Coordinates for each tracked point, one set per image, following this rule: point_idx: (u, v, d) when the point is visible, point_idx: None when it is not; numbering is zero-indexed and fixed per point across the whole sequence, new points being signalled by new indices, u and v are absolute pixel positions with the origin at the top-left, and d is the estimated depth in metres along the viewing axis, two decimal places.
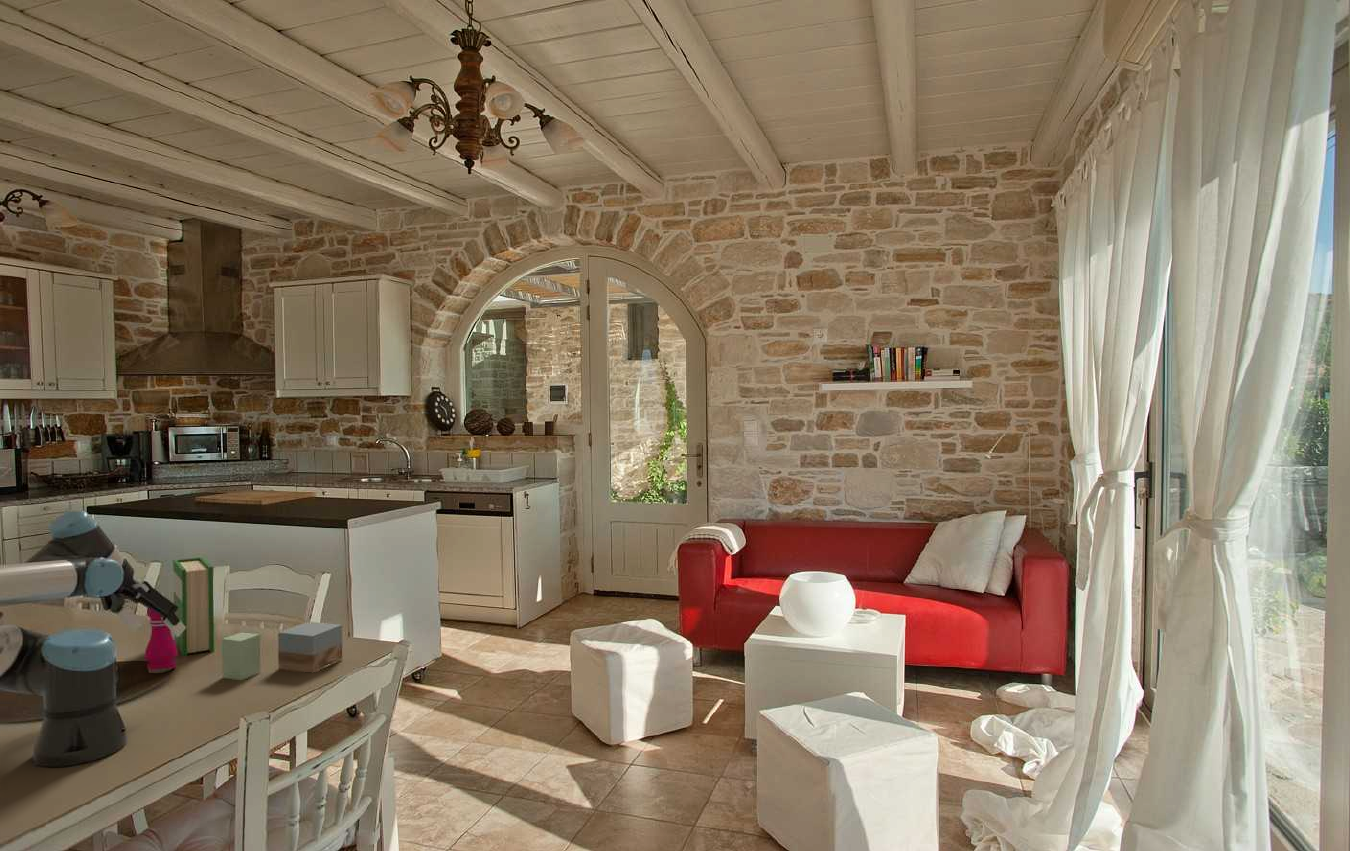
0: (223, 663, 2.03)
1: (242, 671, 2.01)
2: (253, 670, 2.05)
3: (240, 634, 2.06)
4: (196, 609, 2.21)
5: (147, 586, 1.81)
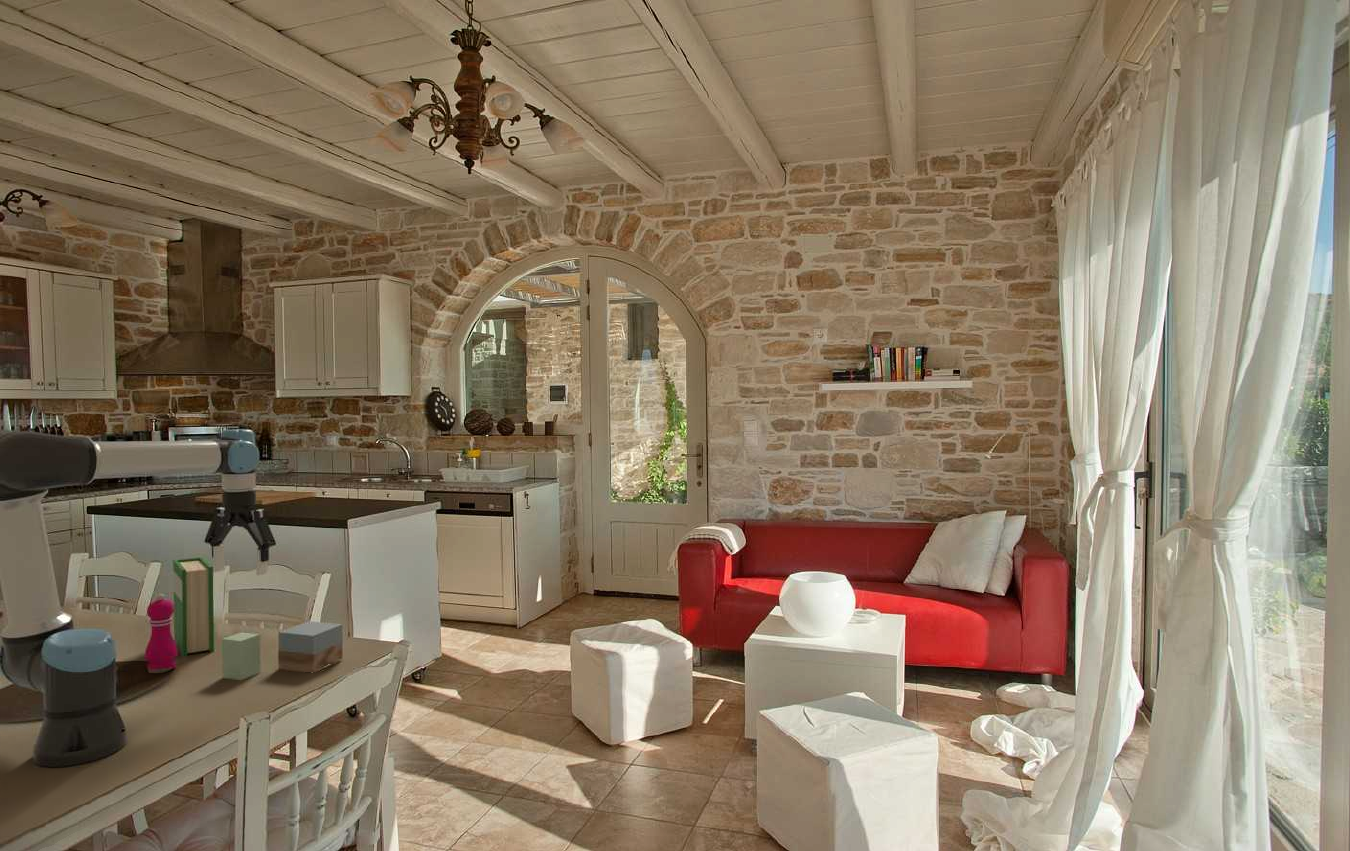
0: (223, 663, 2.03)
1: (242, 671, 2.01)
2: (253, 670, 2.05)
3: (240, 634, 2.06)
4: (196, 609, 2.21)
5: (263, 513, 2.02)
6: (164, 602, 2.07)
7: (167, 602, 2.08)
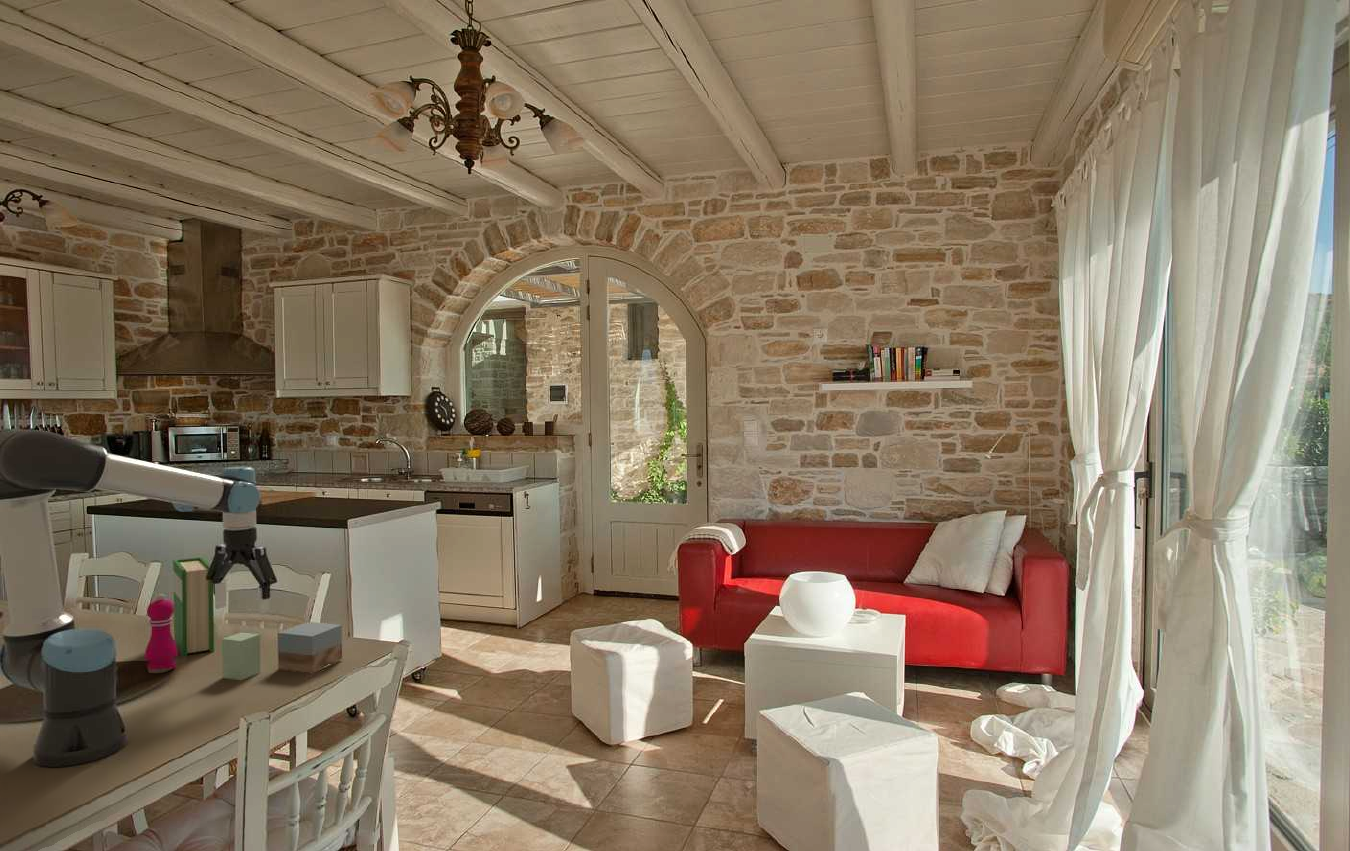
0: (223, 663, 2.03)
1: (242, 671, 2.01)
2: (253, 670, 2.05)
3: (240, 634, 2.06)
4: (196, 609, 2.21)
5: (264, 551, 2.03)
6: (164, 602, 2.07)
7: (167, 602, 2.08)
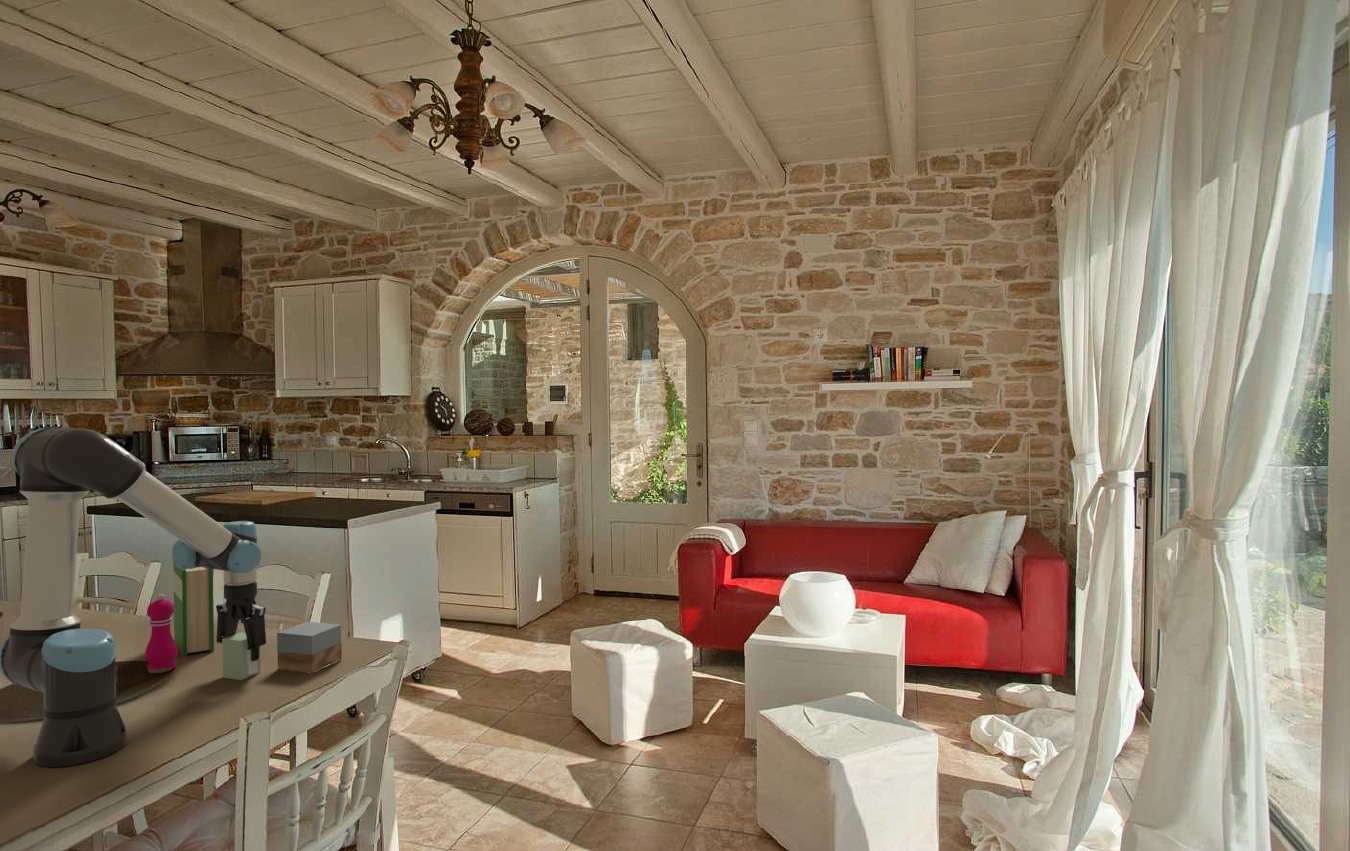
0: (223, 663, 2.03)
1: (242, 671, 2.01)
2: None
3: (240, 634, 2.06)
4: (196, 609, 2.21)
5: (263, 612, 2.03)
6: (164, 602, 2.07)
7: (167, 602, 2.08)
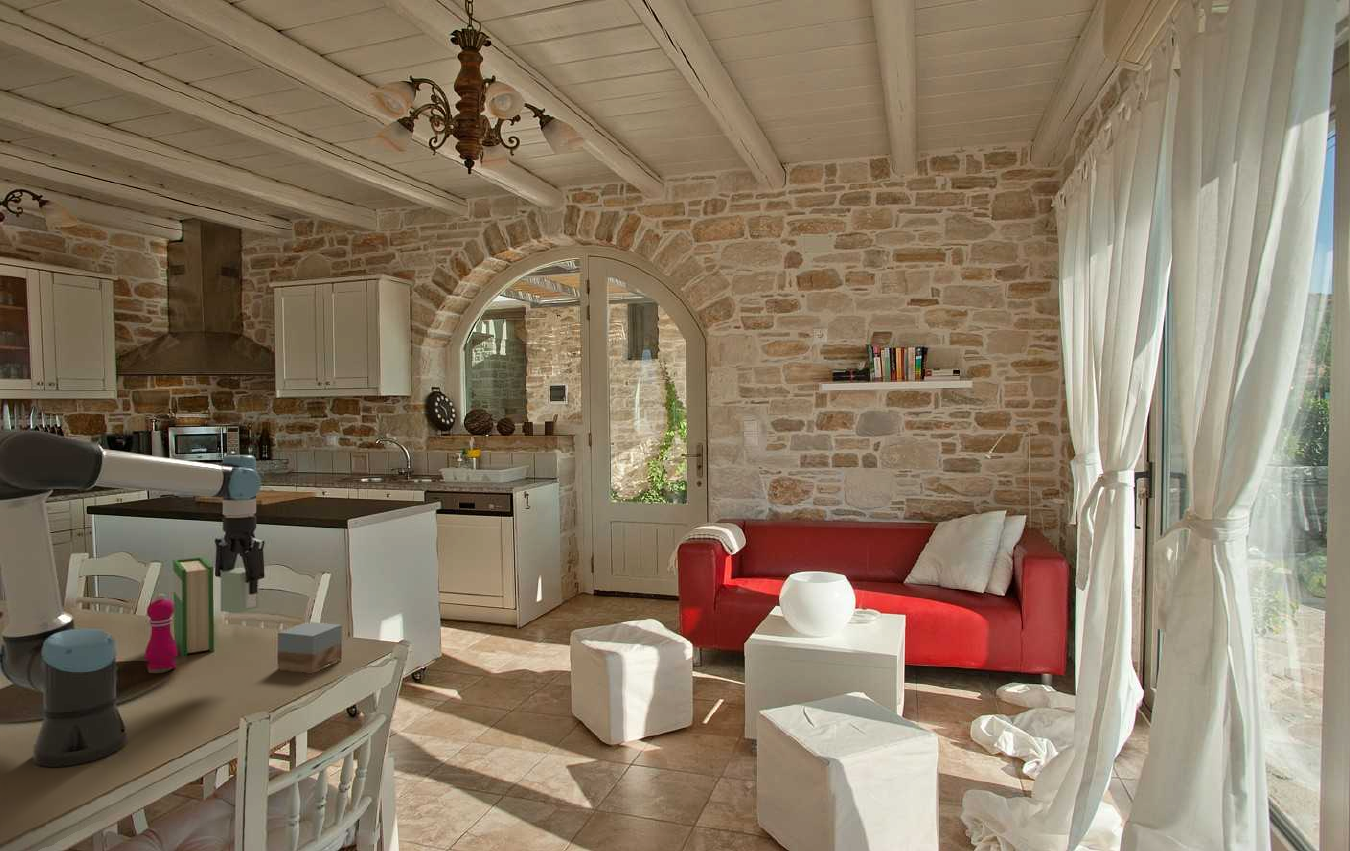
0: (221, 596, 2.02)
1: (240, 604, 2.01)
2: None
3: (239, 568, 2.06)
4: (196, 609, 2.21)
5: (262, 545, 2.02)
6: (164, 602, 2.07)
7: (167, 602, 2.08)
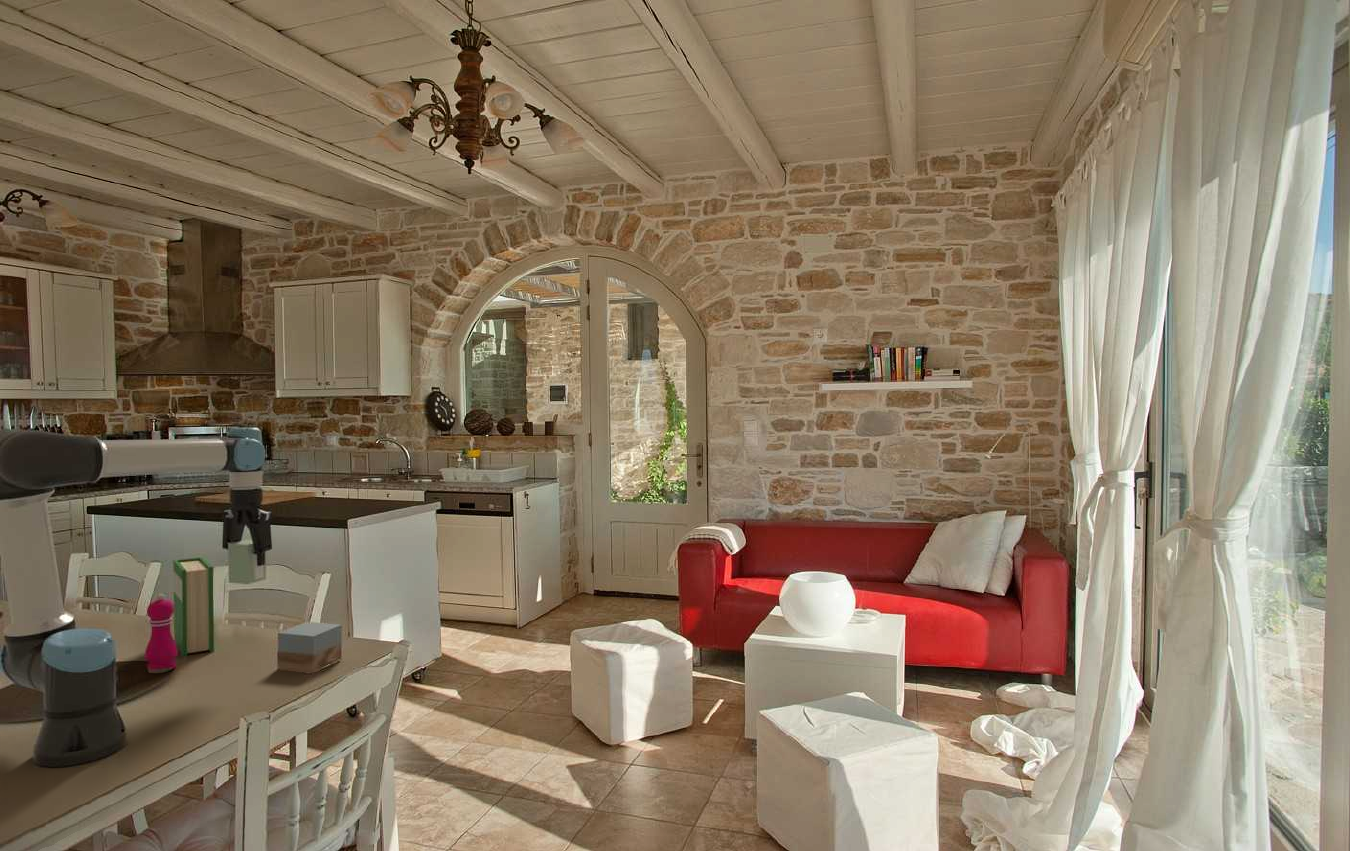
0: (229, 568, 2.03)
1: (248, 575, 2.02)
2: None
3: (246, 540, 2.07)
4: (196, 609, 2.21)
5: (269, 517, 2.03)
6: (164, 602, 2.07)
7: (167, 602, 2.08)
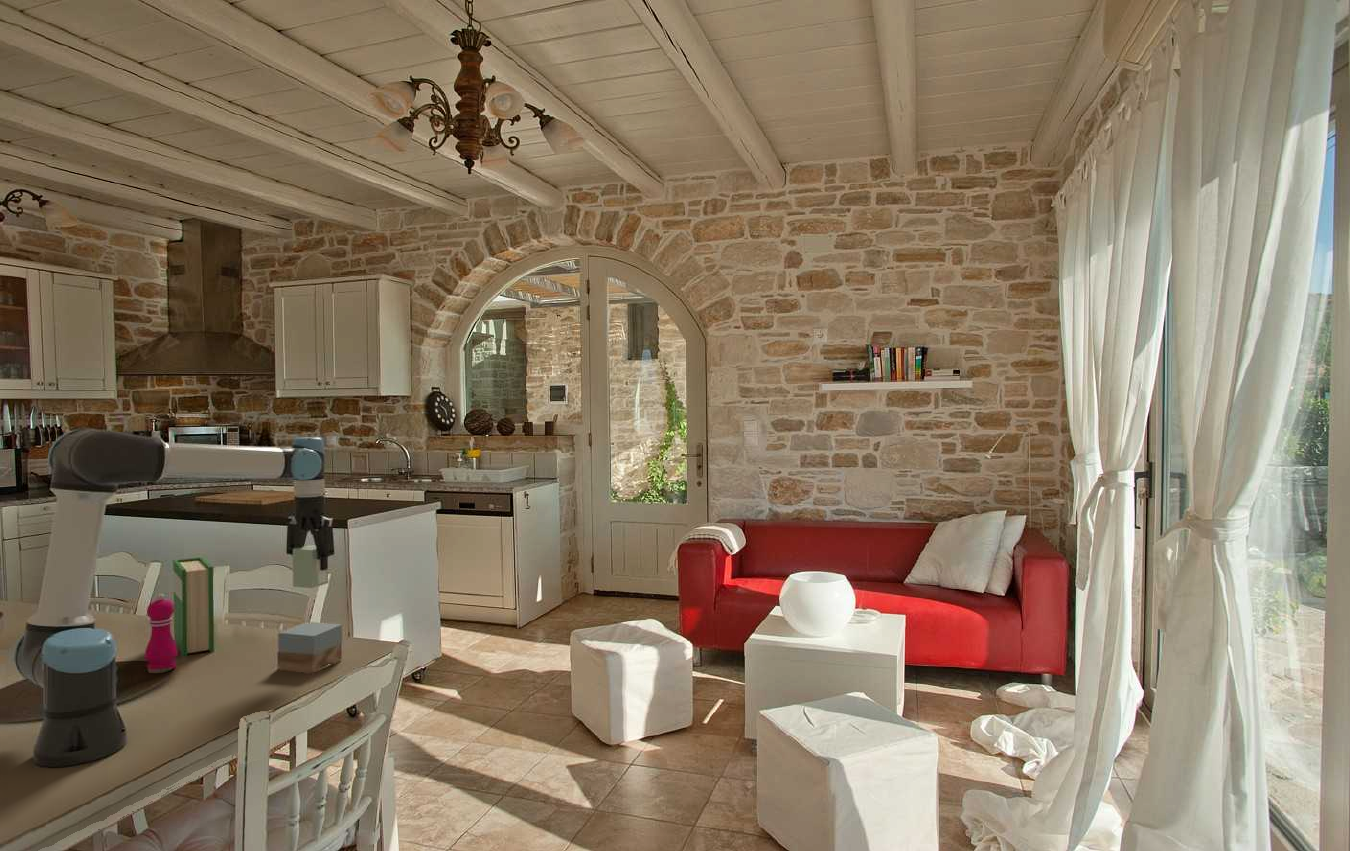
0: (294, 572, 2.10)
1: (312, 579, 2.09)
2: None
3: (309, 546, 2.14)
4: (196, 609, 2.21)
5: (331, 523, 2.11)
6: (164, 602, 2.07)
7: (167, 602, 2.08)
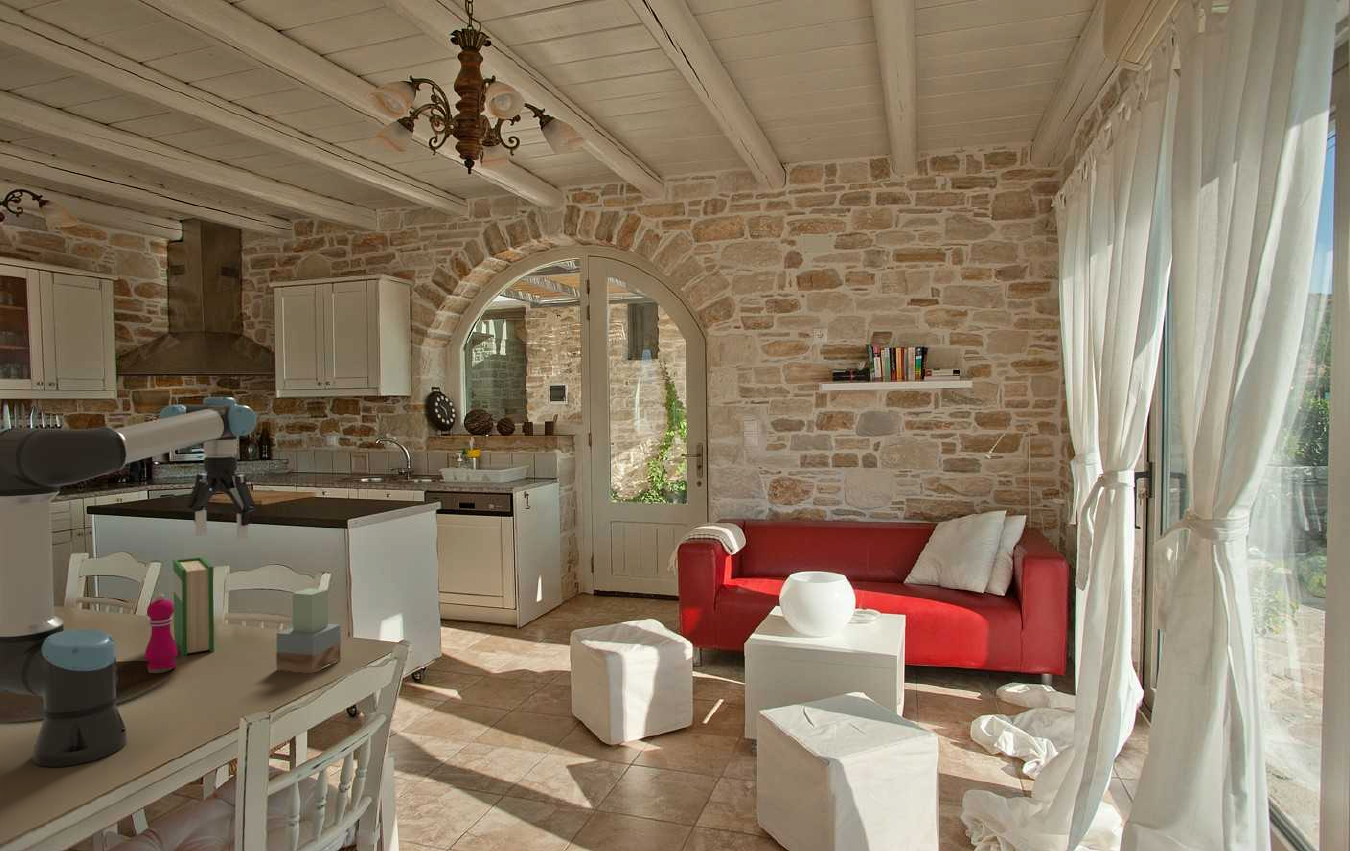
0: (293, 616, 2.11)
1: (312, 623, 2.09)
2: (322, 624, 2.13)
3: (308, 589, 2.14)
4: (196, 609, 2.21)
5: (243, 479, 2.07)
6: (164, 602, 2.07)
7: (167, 602, 2.08)
